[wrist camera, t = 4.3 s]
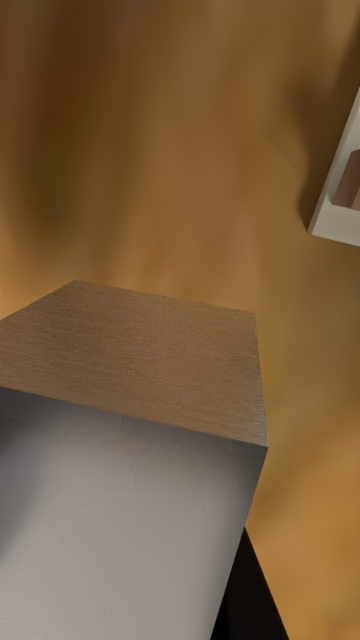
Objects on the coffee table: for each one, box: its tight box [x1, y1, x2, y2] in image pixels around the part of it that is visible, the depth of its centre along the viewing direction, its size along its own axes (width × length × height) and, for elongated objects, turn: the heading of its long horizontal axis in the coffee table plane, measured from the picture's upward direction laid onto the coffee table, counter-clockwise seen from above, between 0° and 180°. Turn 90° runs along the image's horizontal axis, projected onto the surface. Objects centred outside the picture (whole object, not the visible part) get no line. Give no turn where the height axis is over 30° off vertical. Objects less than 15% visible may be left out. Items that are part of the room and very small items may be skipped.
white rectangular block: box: [0, 280, 268, 640], centre depth 7 cm, size 9×4×4 cm, turn 172°
